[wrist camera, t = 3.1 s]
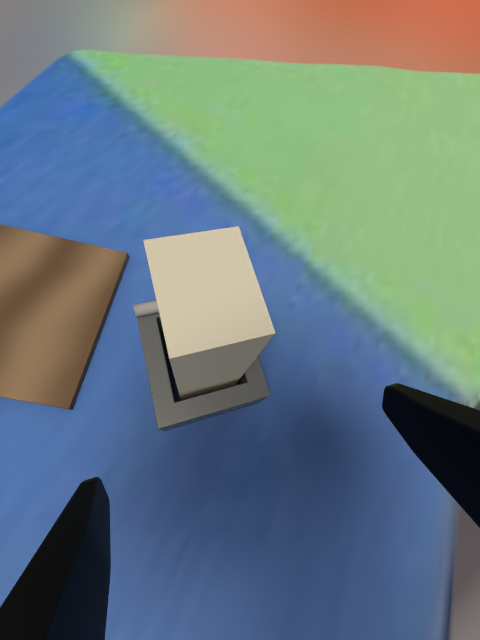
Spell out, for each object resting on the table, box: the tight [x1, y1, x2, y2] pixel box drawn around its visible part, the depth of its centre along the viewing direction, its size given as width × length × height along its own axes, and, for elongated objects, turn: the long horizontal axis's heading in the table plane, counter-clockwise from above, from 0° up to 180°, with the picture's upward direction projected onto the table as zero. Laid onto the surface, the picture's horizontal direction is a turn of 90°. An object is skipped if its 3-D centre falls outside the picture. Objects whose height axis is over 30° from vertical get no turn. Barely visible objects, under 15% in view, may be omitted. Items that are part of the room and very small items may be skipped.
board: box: [0, 225, 129, 410], centre depth 23 cm, size 12×13×1 cm
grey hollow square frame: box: [134, 301, 271, 430], centre depth 21 cm, size 8×7×5 cm
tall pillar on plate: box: [144, 226, 275, 401], centre depth 18 cm, size 5×4×13 cm
